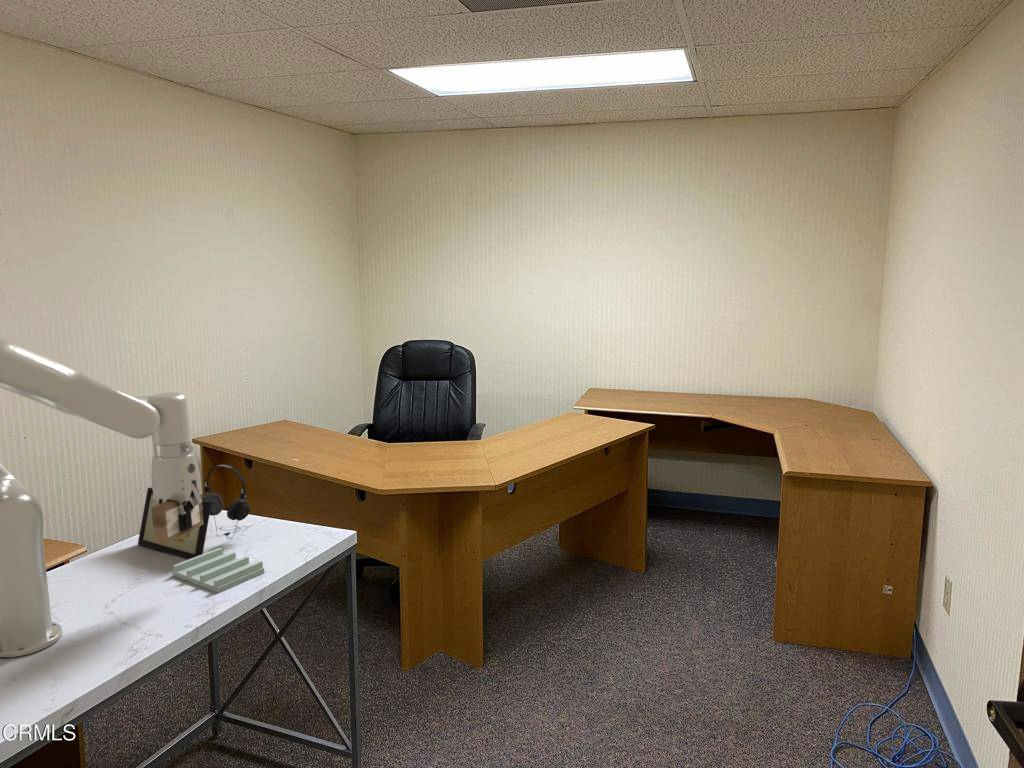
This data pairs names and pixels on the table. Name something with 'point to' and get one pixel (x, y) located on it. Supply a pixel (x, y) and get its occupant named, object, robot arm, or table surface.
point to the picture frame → (182, 545)
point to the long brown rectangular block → (172, 520)
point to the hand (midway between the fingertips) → (179, 527)
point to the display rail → (217, 570)
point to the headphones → (239, 506)
